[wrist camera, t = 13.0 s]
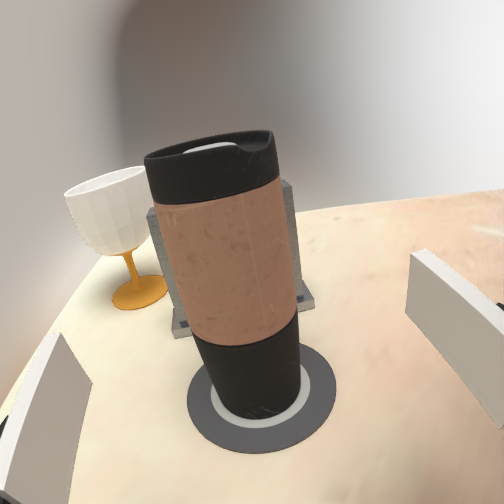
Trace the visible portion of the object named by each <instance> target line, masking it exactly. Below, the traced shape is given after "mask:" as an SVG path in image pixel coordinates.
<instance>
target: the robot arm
mask: <svg viewBox="0 0 504 504" xmlns="http://www.w3.org/2000/svg"><path fill="white" fill-rule="evenodd" d="M405 313H406V314H407V315H408V316H409V318H410V319H411V320H412V321H413V322H414V323H415V324H416V326H417V327H418V328H419V329H420V330H421V331H422V332H423V334H424V335H425V336H426V337H427V338H428V339H429V341H430V342H431V343H432V344H433V345H434V347H435V348H436V349H437V350H438V351H439V353H440V354H441V355H442V356H443V357H444V359H445V360H446V361H447V362H448V363H449V365H450V366H451V367H452V368H453V370H454V371H455V372H456V373H457V375H458V376H459V377H460V378H461V380H462V381H463V382H464V383H465V385H466V386H467V387H468V388H469V390H470V391H471V392H472V394H473V395H474V396H475V397H476V399H477V400H478V401H479V403H480V404H481V405H482V407H483V408H484V409H485V411H486V412H487V413H488V415H489V416H490V417H491V419H492V420H493V421H494V423H495V424H496V425H497V427H498V428H499V430H500V429H501V428H503V427H504V305H503V304H501V303H497V304H495V303H494V302H493V301H491V300H490V299H489V298H488V297H487V296H485V295H484V294H483V293H482V292H481V291H480V290H478V289H477V288H476V287H475V286H473V285H472V284H471V283H470V282H469V281H467V280H466V279H465V278H464V277H462V276H461V275H460V274H459V273H457V272H456V271H455V270H453V269H452V268H451V267H450V266H448V265H447V264H446V263H444V262H443V261H442V260H441V259H439V258H438V257H437V256H435V255H434V254H433V253H431V252H430V251H429V250H427V249H424V250H420V251H417V252H413V253H411V255H410V269H409V280H408V291H407V300H406V308H405ZM92 384H93V383H92V382H91V380H90V379H89V377H88V376H87V374H86V373H85V371H84V370H83V368H82V367H81V365H80V364H79V362H78V360H77V359H76V357H75V356H74V354H73V352H72V351H71V349H70V347H69V346H68V344H67V342H66V341H65V339H64V337H63V335H62V334H61V332H60V333H54V334H48V335H45V337H44V339H43V341H42V343H41V345H40V347H39V349H38V351H37V353H36V355H35V357H34V359H33V361H32V363H31V365H30V368H29V370H28V372H27V374H26V376H25V378H24V381H23V383H22V385H21V388H20V390H19V392H18V395H17V397H16V399H15V402H14V404H13V407H12V409H11V412H10V414H9V416H8V415H7V416H6V418H5V419H4V421H3V422H2V423H1V425H0V504H68V501H69V494H70V488H71V481H72V475H73V469H74V464H75V458H76V453H77V448H78V443H79V438H80V433H81V429H82V424H83V420H84V416H85V411H86V407H87V403H88V399H89V395H90V391H91V387H92Z"/></svg>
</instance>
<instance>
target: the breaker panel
mask: <svg viewBox="0 0 504 504" xmlns="http://www.w3.org/2000/svg"><path fill="white" fill-rule="evenodd" d="M281 185H282V192H283V199H284V206H285V213H286V220H287V227H288V235H289V242H290V250H291V258H292V265H293V273H294V282H295V290H296V299H297V311H298V312H301V311H305V310H309V309H313V308H315V305H314V298H313V297H312V295H311V293H310V291H309V290H308V288H307V286H306V285H305V283H304V281H303V280H302V275H301V265H300V255H299V246H298V236H297V227H296V219H295V210H294V202H293V194H292V186H291V185H290V184H288V183H287V182H286V181H285V180H281ZM146 219H147V223H148V226H149V230H150V233H151V237H152V240H153V243H154V247H155V250H156V253H157V256H158V260H159V263H160V266H161V269H162V272H163V275H164V279H165V282H166V285H167V288H168V291H169V294H170V297H171V300H172V303H173V305H174V308H173V319H172V333H173V335H174V338H181V337H186V336H192V332H191V330H190V326H189V324H188V321H187V318H186V315H185V312H184V309H183V306H182V302H181V299H180V296H179V293H178V290H177V286H176V283H175V280H174V276H173V273H172V269H171V266H170V263H169V259H168V256H167V252H166V249H165V245H164V241H163V238H162V234H161V230H160V227H159V223H158V219H157V215H156V211H155V207H151V208H150V209H149V211H148V213H147V215H146Z"/></svg>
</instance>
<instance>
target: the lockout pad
mask: <svg viewBox="0 0 504 504" xmlns="http://www.w3.org/2000/svg"><path fill="white" fill-rule="evenodd" d="M299 346H300V366H301V388H300V392H299V395H298V397H297V399H296V400H295V402H294V403H293V404H292V405H291V406H290V407H289V408H288V409H287V410H285V411H284V412H282V413H281V414H278V415H276V416H274V417H271V418H267V419H260V420H250V419H244V418H241V417H238V416H236V415H234V414H232V413H231V412H229V411H228V410H227V409H226V408H225V407H224V406H223V404H222V403H221V401H220V399H219V397H218V394H217V392H216V390H215V388H214V386H213V383H212V381H211V379H210V376H209V374H208V372H207V369H206V367H205V364H204V365H203V366H202V367H201V368H200V369H199V370H198V371H197V373H196V374H195V376H194V377H193V379H192V381H191V384H190V386H189V389H188V394H187V407H188V412H189V415H190V417H191V419H192V421H193V423H194V425H195V426H196V428H197V429H198V431H199V432H200V433H201V434H202V435H203V436H204V437H205V438H207V439H208V440H209V441H211V442H212V443H214V444H216V445H218V446H220V447H222V448H225V449H228V450H231V451H235V452H240V453H250V454H259V453H269V452H275V451H279V450H282V449H285V448H288V447H291V446H293V445H295V444H297V443H299V442H301V441H303V440H304V439H306V438H307V437H309V436H310V435H311V434H313V433H314V432H315V431H316V430H317V429H318V428H319V427H320V426H321V425H322V424H323V423H324V421H325V420H326V419H327V417H328V416H329V414H330V412H331V410H332V408H333V405H334V402H335V396H336V380H335V376H334V373H333V370H332V368H331V367H330V365H329V363H328V362H327V361H326V360H325V358H324V357H323V356H322V355H320V354H319V353H318V352H317V351H315V350H314V349H312V348H310V347H308V346H306V345H304V344H301V343H299Z"/></svg>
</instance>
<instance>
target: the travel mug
mask: <svg viewBox="0 0 504 504" xmlns="http://www.w3.org/2000/svg"><path fill="white" fill-rule="evenodd" d="M144 165H145V170H146V174H147V179H148V183H149V187H150V191H151V195H152V198H153V203H154V207H155V211H156V215H157V219H158V223H159V227H160V230H161V234H162V238H163V241H164V245H165V249H166V252H167V256H168V259H169V263H170V266H171V269H172V273H173V276H174V280H175V283H176V286H177V290H178V293H179V296H180V299H181V302H182V306H183V309H184V312H185V315H186V318H187V321H188V324H189V326H190V330H191V332H192V335H193V337H194V340H195V342H196V345H197V347H198V350H199V352H200V355H201V357H202V360H203V362H204V364H205V367H206V369H207V372H208V374H209V376H210V379H211V381H212V383H213V386H214V388H215V390H216V392H217V394H218V397H219V399H220V401H221V403H222V404H223V406H224V407H225V408H226V409H227V410H228V411H229V412H231V413H232V414H234V415H236V416H238V417H241V418H244V419H250V420H260V419H267V418H271V417H274V416H276V415H278V414H281V413H282V412H284V411H285V410H287V409H288V408H289V407H290V406H291V405H292V404H293V403H294V402H295V400H296V399H297V397H298V395H299V392H300V388H301V366H300V346H299V327H298V311H297V299H296V290H295V282H294V273H293V265H292V258H291V250H290V242H289V235H288V227H287V220H286V213H285V206H284V199H283V192H282V185H281V178H280V173H279V165H278V158H277V152H276V146H275V139H274V135H273V133H272V131H270V130H251V131H241V132H233V133H227V134H221V135H215V136H210V137H204V138H200V139H195V140H191V141H187V142H183V143H179V144H176V145H172V146H169V147H166V148H163V149H160V150H157V151H155V152H152V153H150V154H148V155H146V156H145V157H144Z"/></svg>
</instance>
